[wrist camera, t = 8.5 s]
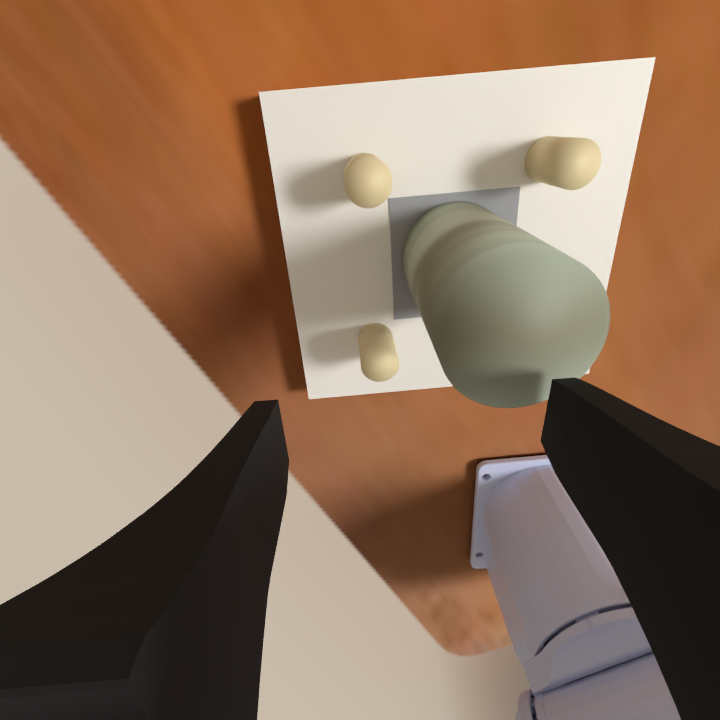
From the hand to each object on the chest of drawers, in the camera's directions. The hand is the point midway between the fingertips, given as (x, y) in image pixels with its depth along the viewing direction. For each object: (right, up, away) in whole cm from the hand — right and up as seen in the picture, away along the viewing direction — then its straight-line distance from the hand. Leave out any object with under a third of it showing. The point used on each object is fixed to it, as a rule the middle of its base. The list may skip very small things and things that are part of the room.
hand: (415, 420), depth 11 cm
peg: (+2, +6, +7) cm, 9 cm away
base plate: (+2, +7, +8) cm, 10 cm away
